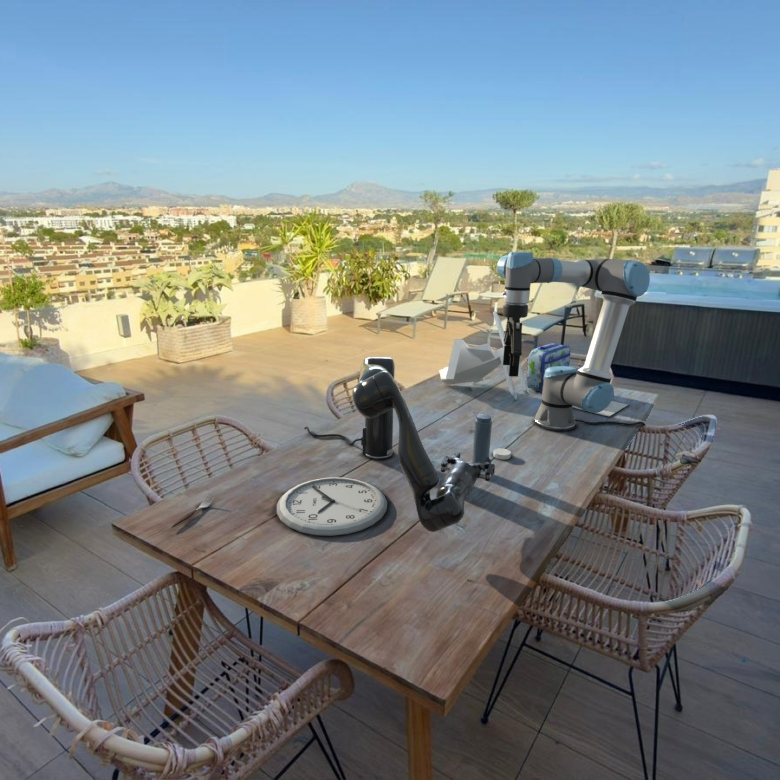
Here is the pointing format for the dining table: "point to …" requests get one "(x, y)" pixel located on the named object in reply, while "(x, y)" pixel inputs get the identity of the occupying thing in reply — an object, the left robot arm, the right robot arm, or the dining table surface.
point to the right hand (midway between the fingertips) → (510, 370)
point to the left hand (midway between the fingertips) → (473, 457)
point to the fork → (203, 505)
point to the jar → (482, 438)
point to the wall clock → (331, 506)
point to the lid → (502, 453)
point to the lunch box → (545, 363)
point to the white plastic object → (478, 363)
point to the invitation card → (610, 408)
